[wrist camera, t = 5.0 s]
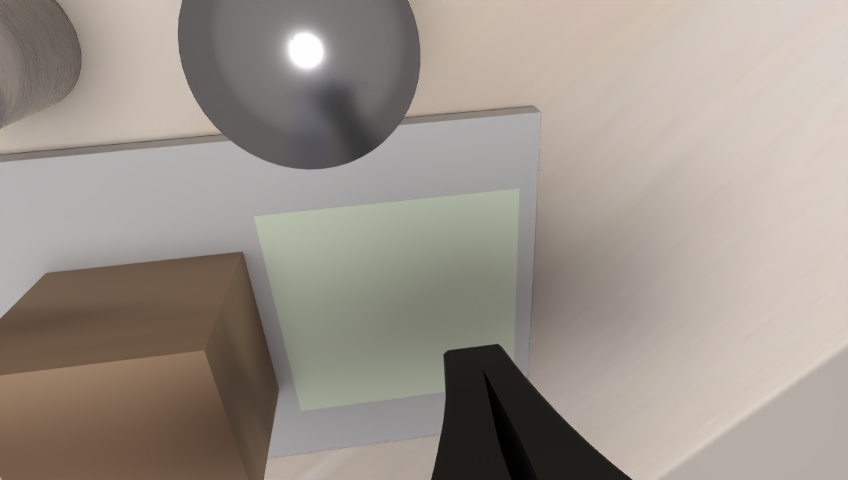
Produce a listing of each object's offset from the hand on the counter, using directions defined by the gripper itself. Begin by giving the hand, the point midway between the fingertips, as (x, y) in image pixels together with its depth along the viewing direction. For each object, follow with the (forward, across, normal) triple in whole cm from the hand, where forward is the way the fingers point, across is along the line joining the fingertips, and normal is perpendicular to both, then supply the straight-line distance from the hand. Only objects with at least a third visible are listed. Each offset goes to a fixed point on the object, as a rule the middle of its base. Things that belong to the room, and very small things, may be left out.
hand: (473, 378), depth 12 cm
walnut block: (+3, +8, 0) cm, 9 cm away
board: (+4, +10, 0) cm, 10 cm away
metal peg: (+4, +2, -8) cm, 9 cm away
